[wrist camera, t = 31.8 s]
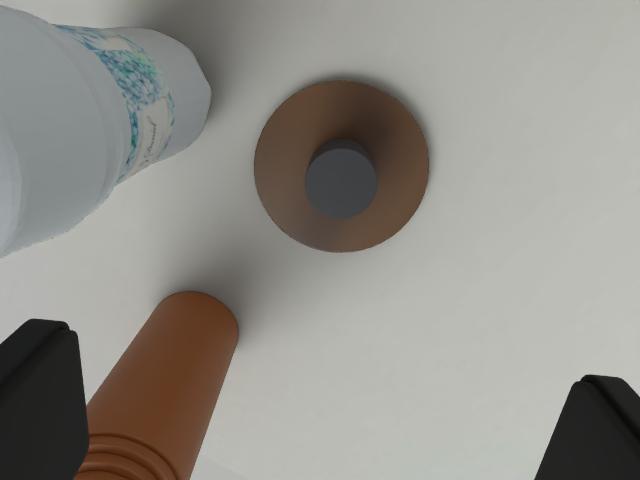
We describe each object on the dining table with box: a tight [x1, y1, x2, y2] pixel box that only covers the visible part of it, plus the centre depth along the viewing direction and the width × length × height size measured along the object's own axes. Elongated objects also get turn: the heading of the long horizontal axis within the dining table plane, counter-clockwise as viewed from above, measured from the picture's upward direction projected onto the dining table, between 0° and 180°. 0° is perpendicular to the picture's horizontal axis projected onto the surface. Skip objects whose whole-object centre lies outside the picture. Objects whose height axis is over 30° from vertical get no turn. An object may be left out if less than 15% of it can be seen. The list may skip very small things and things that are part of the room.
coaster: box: [254, 80, 429, 253], centre depth 26 cm, size 10×10×1 cm
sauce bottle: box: [73, 292, 239, 480], centre depth 23 cm, size 6×6×18 cm
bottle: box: [0, 6, 211, 258], centre depth 16 cm, size 7×7×20 cm
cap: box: [305, 139, 377, 219], centre depth 25 cm, size 4×4×3 cm
